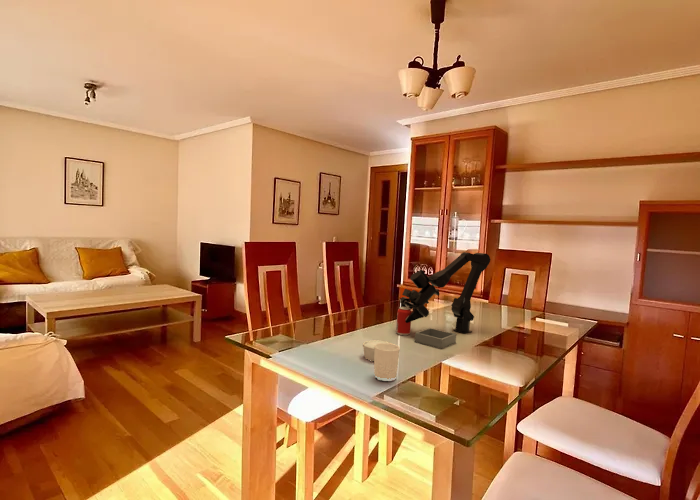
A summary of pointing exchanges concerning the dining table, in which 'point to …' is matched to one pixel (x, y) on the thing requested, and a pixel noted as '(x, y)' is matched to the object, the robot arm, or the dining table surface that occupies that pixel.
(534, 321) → the dining table surface
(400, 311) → the beverage can
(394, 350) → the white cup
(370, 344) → the ramekin
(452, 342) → the tray
